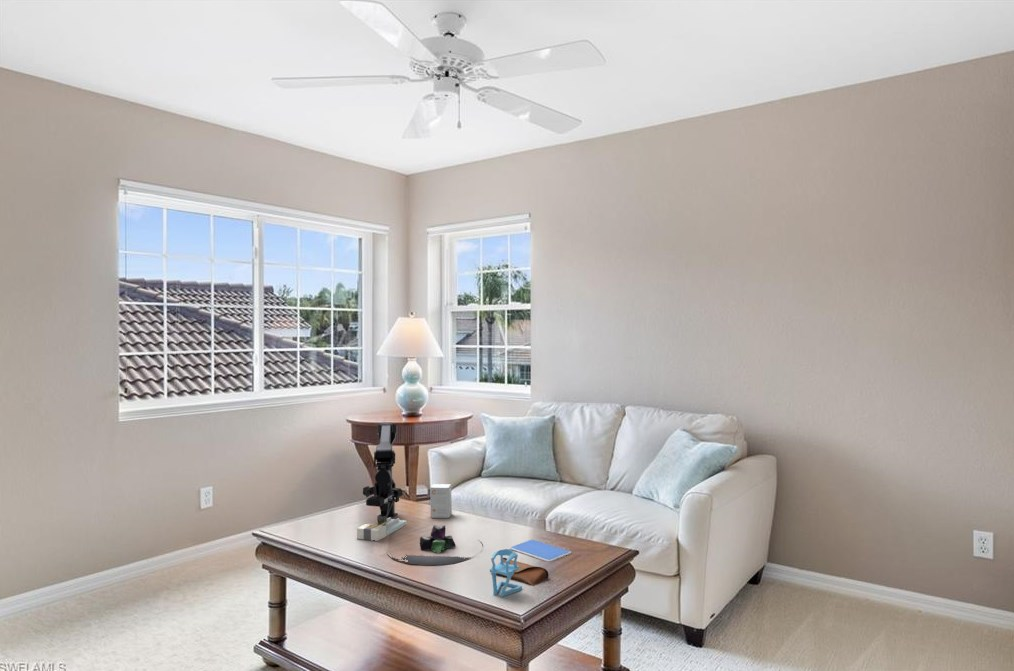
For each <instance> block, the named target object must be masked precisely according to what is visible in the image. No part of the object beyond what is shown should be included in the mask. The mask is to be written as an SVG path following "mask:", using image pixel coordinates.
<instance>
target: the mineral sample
mask: <svg viewBox="0 0 1014 671" xmlns="http://www.w3.org/2000/svg"><path fill="white" fill-rule="evenodd" d="M477 541H479V542H480V544H481V545H482V547H484V544H483V543H482V541H480V540H479V539H478V540H477ZM456 546H457V544H456V543H455V540H454V539H453V536H452V535H446V525H436V524H433V525H432V529H431V532H430V536H420V538H419V547H420V550H422V551H423V550H424V551H425V550H430V551H432V552H434V553H437V554H440V553H441V552H442V551H444V550H445V549H450V548H453V547H454V548H455V547H456ZM386 554H387V553H386ZM405 555H406V556H407V557H406V556H405ZM405 555H404V556H405V557H406V558H405V557H404V558H403V557H402V559H403V560H405V559H406V560H408V562H405V561H398V560H399V559H398V558H396V557H392V558H391V557H390V556H389V555H388V554H387V556H388V557H389V558H391V559H392V560H393V561H396V562H400V563H404V564H406V565H419V566H439V565H440V566H442V565H443V566H444V565H454V564H457V563H460V562H464V561H467V560H470V559H472V556H471V557H470V556H468V557H464V556H458V555H457V556H450V555H449V556H446V555H444V556H443V555H442V556H441V555H432V556H431V555H422V554H420V555H419V554H418V555H417V554H415V555H413V554H410V555H409V554H407V553H406V554H405ZM393 558H394V559H393Z"/></svg>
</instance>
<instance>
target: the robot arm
mask: <svg viewBox="0 0 1014 671" xmlns="http://www.w3.org/2000/svg"><path fill="white" fill-rule="evenodd" d="M376 426H377V428H376V429H377V431H376V432H377V433H376V434H377V435H378V437H379V438H378V439H379V444H377V445H376V448H375V450H374V453H373V454H374V455H373V468H376V473H375V476H374V480H375V483H374V485H372V486H365V487H363V488H362V495H363V496H364V497H365V498H367V499H365V503H366V504H365V505H366V506H368V507H379V509H380V510H379V511H380V514H379V515H387V518H389V517H391V519H393V517H396V516H398V515H399V513H398V512H396V511H395V510H396V508H395V506H396V504H395V503H398V502H400V497H402V496H403V490H402V488H401V487H398V488H397V485H396V483H395V481H394V478H393V467H394V465H396V452H395V450H394V449H393V444H394V442H395V440H396V436H397V435H398V425H397V424H395V423H392V422H382V423H380V424H377V425H376Z"/></svg>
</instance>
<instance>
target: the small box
mask: <svg viewBox="0 0 1014 671" xmlns="http://www.w3.org/2000/svg"><path fill="white" fill-rule="evenodd" d="M429 491H430V495H429V496H430V498H429V499H430V518H432V519H434V518H435V519H450V517H451V515H452V514H453V512H452V511H453V510H452V508H453V507H452V505H453V504H452V484H450V483H444V484H441V483H439V484H437V483H434V484H432V485H431V486H430V487H429Z"/></svg>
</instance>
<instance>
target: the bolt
mask: <svg viewBox="0 0 1014 671" xmlns="http://www.w3.org/2000/svg"><path fill="white" fill-rule="evenodd" d="M376 517H377V519H376V520H377V522H376V523H374V524H372V526H370V527H368V528H372V529H373V528H375V527H377V526H379V525H382V526H384V525H386V522H387V515H380V514H379V515H377V516H376Z"/></svg>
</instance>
